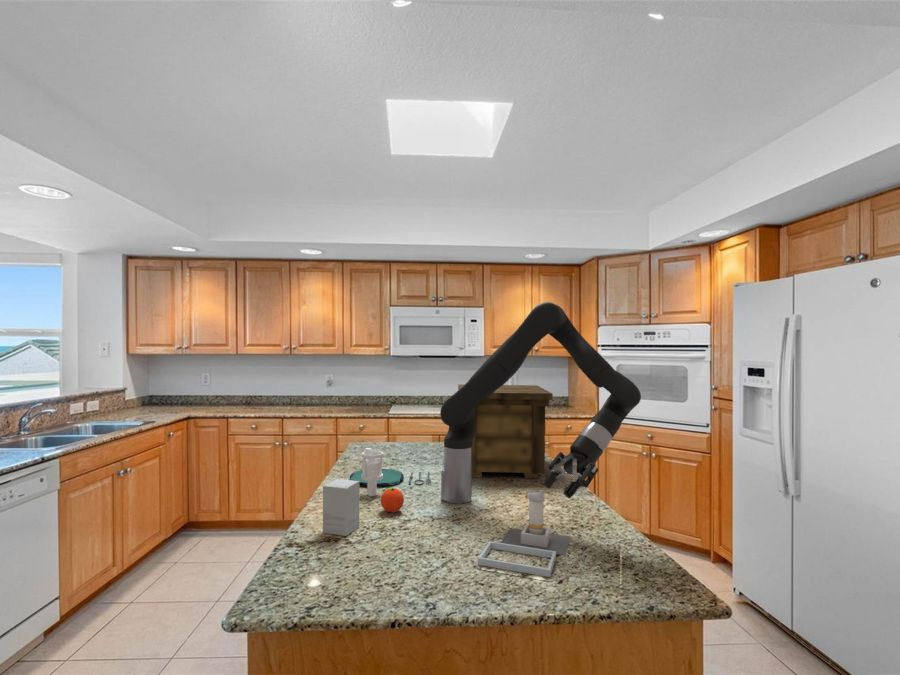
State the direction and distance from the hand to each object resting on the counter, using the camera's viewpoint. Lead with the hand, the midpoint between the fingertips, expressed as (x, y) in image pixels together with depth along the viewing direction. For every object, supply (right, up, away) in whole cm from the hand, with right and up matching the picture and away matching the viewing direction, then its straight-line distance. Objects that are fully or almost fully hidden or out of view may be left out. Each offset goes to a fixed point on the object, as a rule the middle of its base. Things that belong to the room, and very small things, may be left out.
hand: (555, 491), depth 125 cm
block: (-6, -13, -3) cm, 14 cm away
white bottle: (-6, -12, -3) cm, 13 cm away
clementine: (-45, -13, +21) cm, 51 cm away
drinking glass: (-53, -13, +36) cm, 66 cm away
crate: (-7, -14, +72) cm, 74 cm away
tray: (-12, -13, -14) cm, 22 cm away
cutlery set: (-49, -14, +54) cm, 74 cm away
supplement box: (-57, -13, +6) cm, 58 cm away
